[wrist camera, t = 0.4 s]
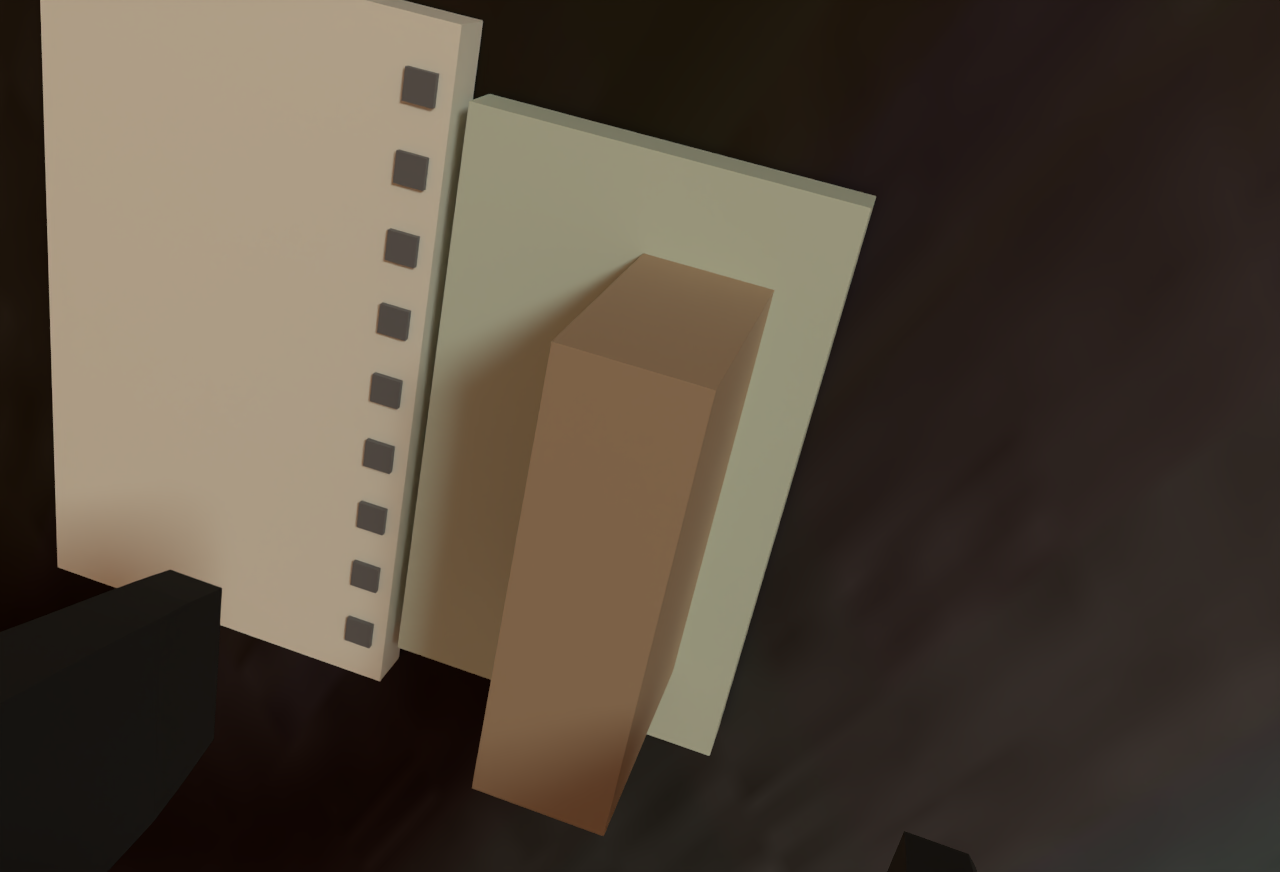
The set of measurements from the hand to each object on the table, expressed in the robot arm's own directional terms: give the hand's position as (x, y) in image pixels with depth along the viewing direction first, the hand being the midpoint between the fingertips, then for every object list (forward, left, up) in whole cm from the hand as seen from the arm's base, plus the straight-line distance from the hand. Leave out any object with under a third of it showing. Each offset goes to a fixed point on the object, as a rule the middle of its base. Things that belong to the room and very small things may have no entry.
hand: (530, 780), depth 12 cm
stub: (0, +2, -8) cm, 9 cm away
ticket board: (0, +8, -8) cm, 12 cm away
